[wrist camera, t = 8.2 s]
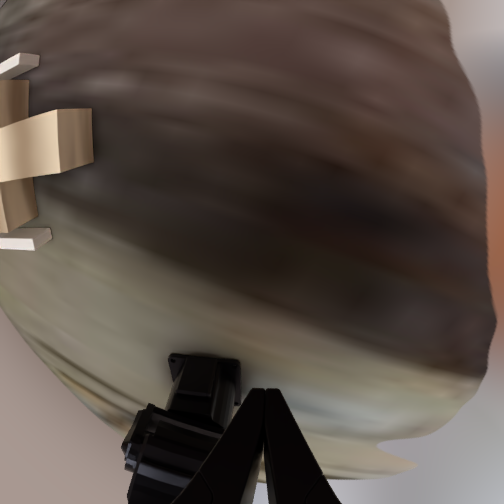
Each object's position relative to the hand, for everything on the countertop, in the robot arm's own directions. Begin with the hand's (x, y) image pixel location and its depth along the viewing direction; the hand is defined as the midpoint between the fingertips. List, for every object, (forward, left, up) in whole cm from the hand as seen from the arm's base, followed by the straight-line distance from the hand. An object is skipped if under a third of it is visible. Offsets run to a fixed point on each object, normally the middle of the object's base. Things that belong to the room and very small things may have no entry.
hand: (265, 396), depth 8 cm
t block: (+8, +18, -13) cm, 24 cm away
